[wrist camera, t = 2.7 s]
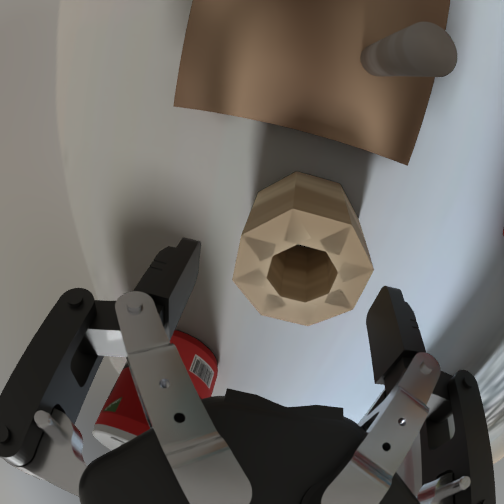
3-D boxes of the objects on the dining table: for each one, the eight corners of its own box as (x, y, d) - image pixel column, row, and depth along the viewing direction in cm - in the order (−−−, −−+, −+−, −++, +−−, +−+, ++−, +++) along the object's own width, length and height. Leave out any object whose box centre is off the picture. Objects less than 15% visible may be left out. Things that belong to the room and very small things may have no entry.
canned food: (144, 312, 24) (85, 419, 15) (230, 347, 25) (197, 466, 16) (138, 357, 28) (96, 445, 19) (209, 386, 29) (181, 480, 20)
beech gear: (368, 192, 16) (389, 236, 12) (334, 275, 19) (339, 332, 15) (264, 163, 16) (249, 197, 12) (245, 252, 19) (226, 306, 15)
